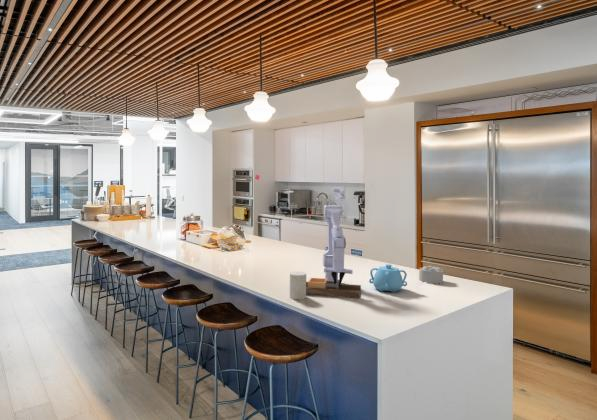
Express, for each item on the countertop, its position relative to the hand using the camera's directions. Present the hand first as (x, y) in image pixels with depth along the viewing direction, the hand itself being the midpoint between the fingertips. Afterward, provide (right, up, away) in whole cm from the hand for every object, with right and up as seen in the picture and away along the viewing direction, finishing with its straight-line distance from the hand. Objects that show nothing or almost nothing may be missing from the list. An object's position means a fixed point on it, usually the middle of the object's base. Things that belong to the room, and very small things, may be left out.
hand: (337, 286), depth 218 cm
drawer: (-7, -2, +2) cm, 8 cm away
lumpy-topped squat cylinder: (+57, -2, +28) cm, 63 cm away
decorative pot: (+28, -3, +9) cm, 29 cm away
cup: (-21, -4, -8) cm, 22 cm away
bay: (-6, -3, +1) cm, 7 cm away
